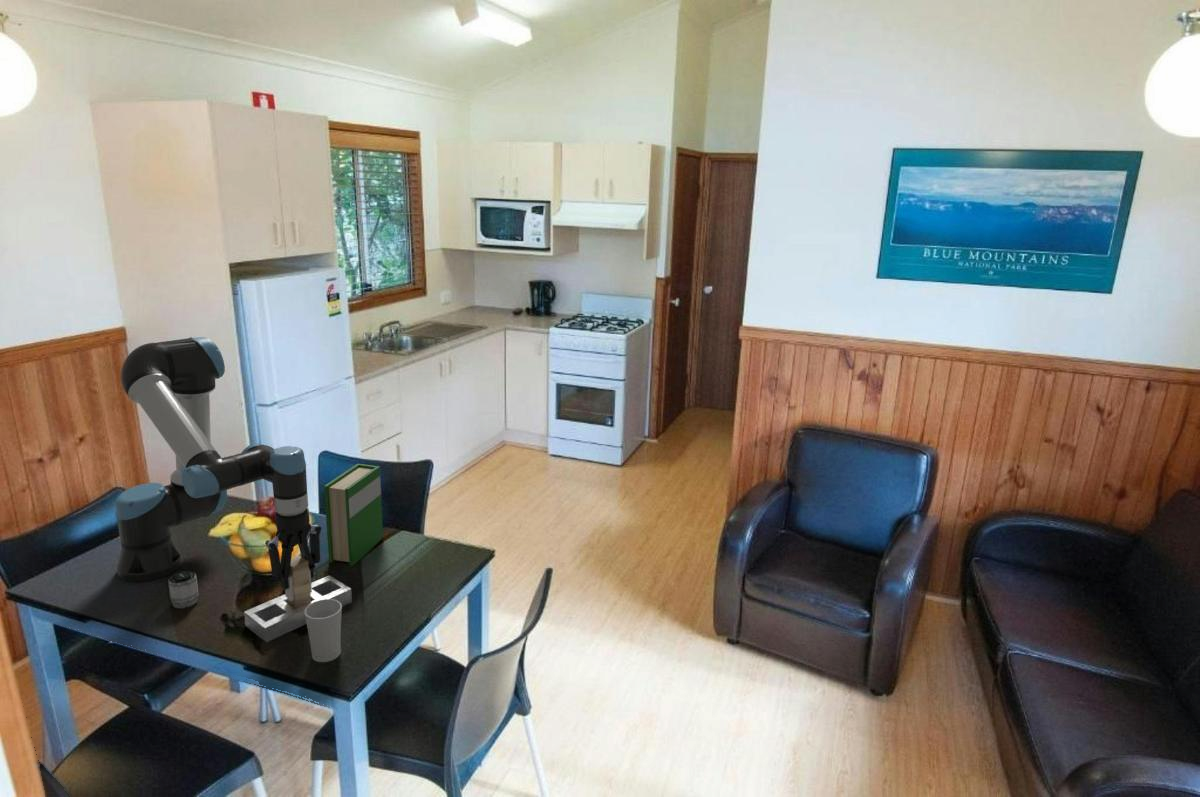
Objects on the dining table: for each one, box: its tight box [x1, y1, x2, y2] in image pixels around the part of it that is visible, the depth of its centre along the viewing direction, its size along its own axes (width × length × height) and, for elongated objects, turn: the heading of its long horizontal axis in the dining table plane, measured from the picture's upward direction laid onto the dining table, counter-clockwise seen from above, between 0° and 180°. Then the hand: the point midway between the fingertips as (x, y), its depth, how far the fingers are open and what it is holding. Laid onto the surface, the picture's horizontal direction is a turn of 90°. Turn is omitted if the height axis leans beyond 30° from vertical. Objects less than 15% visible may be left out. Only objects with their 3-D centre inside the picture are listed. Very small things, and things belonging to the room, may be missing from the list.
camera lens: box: [167, 570, 199, 609], centre depth 179 cm, size 6×6×8 cm
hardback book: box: [323, 463, 384, 567], centre depth 207 cm, size 18×7×24 cm, turn 168°
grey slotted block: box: [243, 575, 353, 643], centre depth 178 cm, size 10×23×4 cm, turn 142°
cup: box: [305, 599, 343, 663], centre depth 162 cm, size 8×8×12 cm
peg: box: [287, 555, 311, 608], centre depth 176 cm, size 4×4×12 cm
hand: (298, 594), depth 177 cm, fingers closed on peg, 4 cm apart
